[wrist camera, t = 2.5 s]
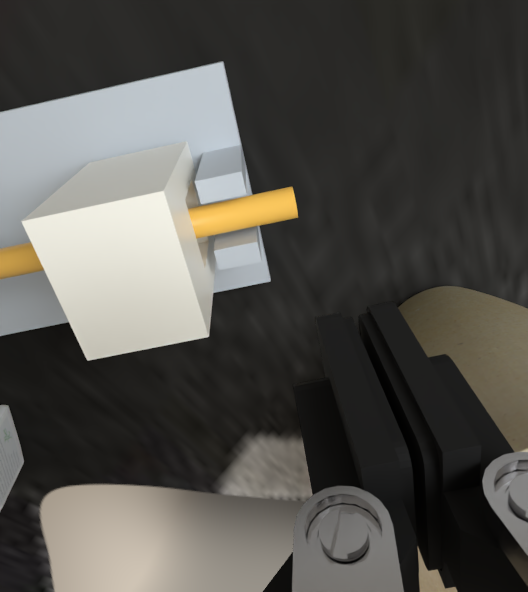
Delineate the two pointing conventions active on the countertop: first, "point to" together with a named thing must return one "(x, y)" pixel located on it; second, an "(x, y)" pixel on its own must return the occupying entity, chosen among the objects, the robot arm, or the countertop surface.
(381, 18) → the countertop surface
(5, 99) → the countertop surface
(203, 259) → the slotted white cube
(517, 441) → the plant pot
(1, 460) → the syrup box
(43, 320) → the grey rod holder
